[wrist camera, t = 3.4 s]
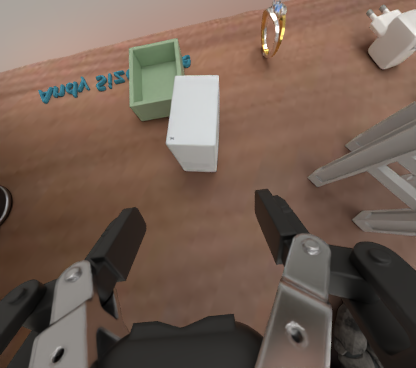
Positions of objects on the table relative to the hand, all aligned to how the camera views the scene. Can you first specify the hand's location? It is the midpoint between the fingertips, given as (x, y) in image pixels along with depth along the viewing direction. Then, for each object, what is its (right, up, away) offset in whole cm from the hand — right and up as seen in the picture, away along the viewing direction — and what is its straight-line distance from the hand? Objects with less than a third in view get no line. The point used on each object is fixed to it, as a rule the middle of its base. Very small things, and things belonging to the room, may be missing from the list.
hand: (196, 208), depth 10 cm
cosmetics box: (0, +9, +19) cm, 21 cm away
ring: (+13, +30, +22) cm, 39 cm away
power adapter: (+34, +29, +20) cm, 49 cm away
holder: (-9, +22, +23) cm, 33 cm away
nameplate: (-21, +26, +25) cm, 41 cm away
